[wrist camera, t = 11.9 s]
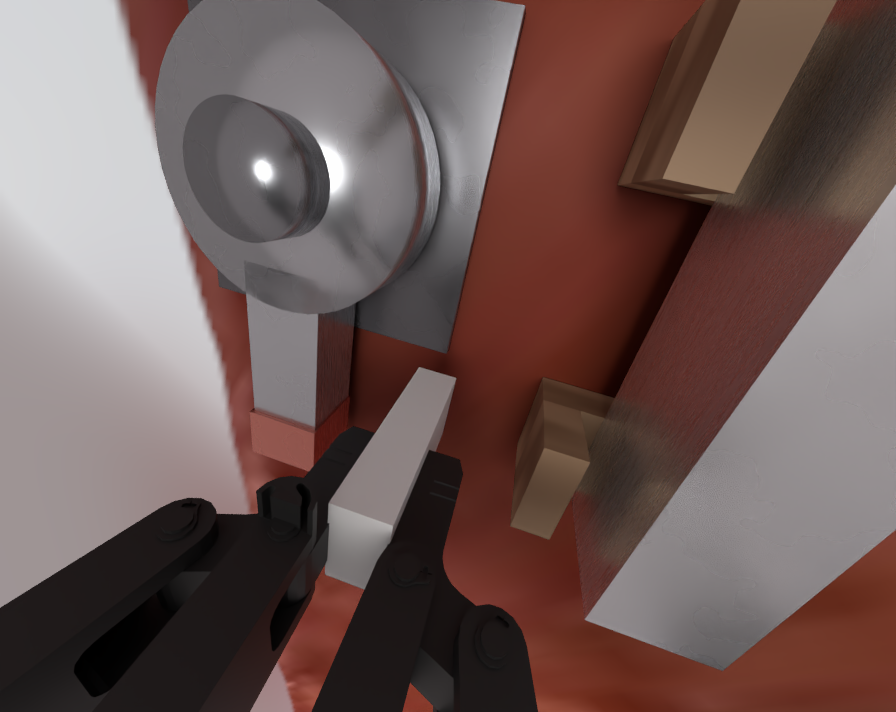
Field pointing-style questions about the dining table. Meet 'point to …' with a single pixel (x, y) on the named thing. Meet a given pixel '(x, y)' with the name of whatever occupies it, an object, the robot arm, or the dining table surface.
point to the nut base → (439, 142)
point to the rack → (674, 194)
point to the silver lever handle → (295, 192)
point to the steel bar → (762, 379)
